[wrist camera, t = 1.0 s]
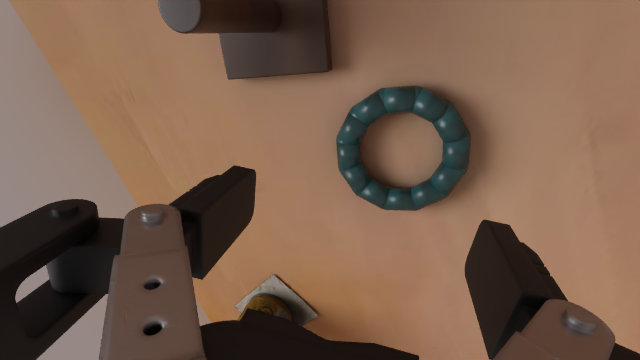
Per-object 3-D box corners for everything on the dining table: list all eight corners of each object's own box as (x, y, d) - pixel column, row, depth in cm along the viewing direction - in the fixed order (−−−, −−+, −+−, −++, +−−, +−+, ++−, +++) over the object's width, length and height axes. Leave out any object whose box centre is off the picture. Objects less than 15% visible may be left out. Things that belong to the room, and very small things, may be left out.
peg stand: (322, -60, 24) (247, -137, 13) (332, 69, 28) (279, 95, 16) (213, -39, 26) (71, -90, 15) (235, 77, 30) (132, 104, 19)
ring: (472, 80, 25) (477, 84, 24) (462, 205, 29) (465, 216, 28) (335, 89, 28) (330, 93, 26) (343, 202, 32) (339, 212, 31)
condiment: (235, 305, 42) (175, 397, 32) (273, 273, 38) (220, 366, 28) (277, 341, 43) (233, 442, 32) (318, 313, 39) (284, 418, 28)
